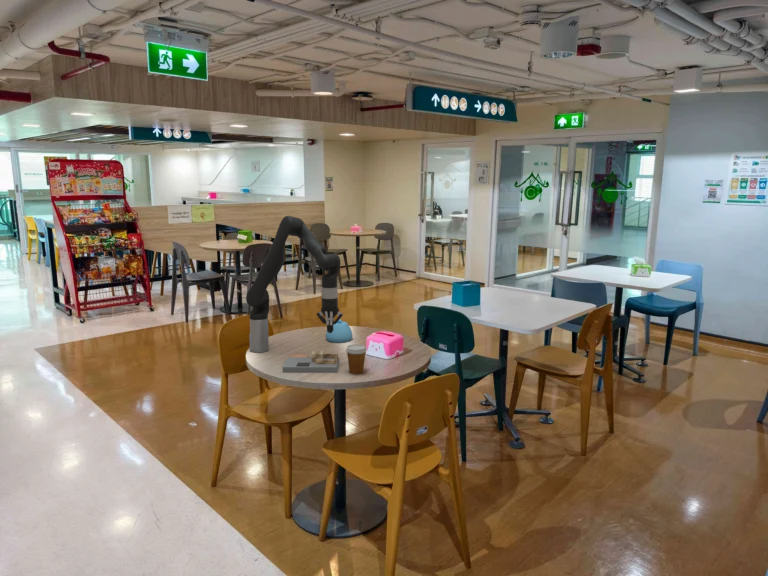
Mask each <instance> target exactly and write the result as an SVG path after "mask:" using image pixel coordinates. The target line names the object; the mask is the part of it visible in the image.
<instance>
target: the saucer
mask: <svg viewBox="0 0 768 576" xmlns="http://www.w3.org/2000/svg"><path fill="white" fill-rule="evenodd" d="M287 356H288V357H309V354H308V353H306V352H293V353H290V354H288V355H287ZM288 357H287V358H288Z"/></svg>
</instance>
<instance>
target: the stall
mask: <svg viewBox="0 0 768 576" xmlns="http://www.w3.org/2000/svg"><path fill="white" fill-rule="evenodd" d="M323 358H335V359H334V360H315V364H337V360H338V358H339V353H323Z"/></svg>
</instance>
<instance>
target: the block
mask: <svg viewBox="0 0 768 576" xmlns="http://www.w3.org/2000/svg"><path fill="white" fill-rule="evenodd" d="M323 354H324V350H312V352H311V357H312V362H315V360H323Z"/></svg>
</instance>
